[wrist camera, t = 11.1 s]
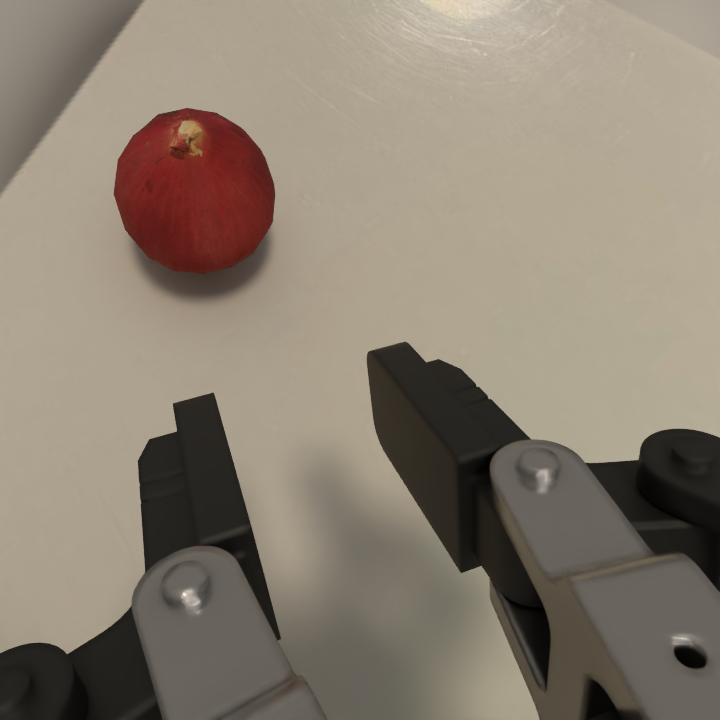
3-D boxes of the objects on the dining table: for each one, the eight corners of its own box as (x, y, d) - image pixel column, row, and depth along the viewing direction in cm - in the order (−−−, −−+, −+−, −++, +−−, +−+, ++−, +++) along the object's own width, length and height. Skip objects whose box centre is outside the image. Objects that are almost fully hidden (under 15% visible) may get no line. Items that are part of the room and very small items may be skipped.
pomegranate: (119, 196, 27) (67, 60, 20) (248, 168, 29) (247, 32, 21) (154, 318, 26) (114, 223, 18) (288, 283, 27) (302, 181, 20)
